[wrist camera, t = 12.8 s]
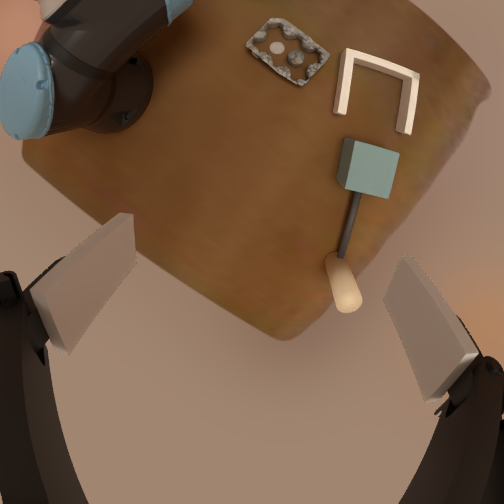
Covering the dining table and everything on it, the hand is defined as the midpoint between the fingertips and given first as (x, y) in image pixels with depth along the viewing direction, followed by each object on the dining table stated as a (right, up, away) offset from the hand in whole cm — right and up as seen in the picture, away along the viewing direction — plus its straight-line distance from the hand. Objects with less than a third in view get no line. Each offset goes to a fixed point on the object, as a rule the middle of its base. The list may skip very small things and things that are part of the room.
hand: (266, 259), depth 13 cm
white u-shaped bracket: (+18, +25, +21) cm, 37 cm away
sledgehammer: (+15, +7, +31) cm, 35 cm away
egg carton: (+5, +30, +20) cm, 37 cm away
